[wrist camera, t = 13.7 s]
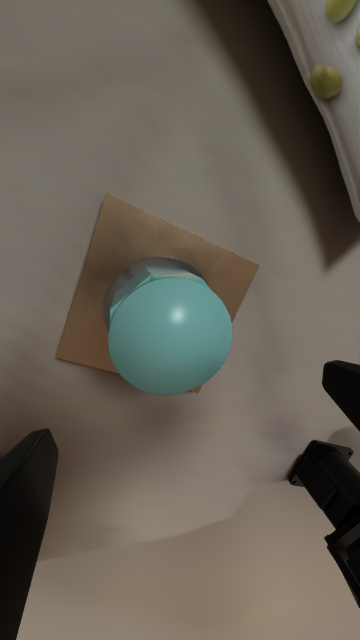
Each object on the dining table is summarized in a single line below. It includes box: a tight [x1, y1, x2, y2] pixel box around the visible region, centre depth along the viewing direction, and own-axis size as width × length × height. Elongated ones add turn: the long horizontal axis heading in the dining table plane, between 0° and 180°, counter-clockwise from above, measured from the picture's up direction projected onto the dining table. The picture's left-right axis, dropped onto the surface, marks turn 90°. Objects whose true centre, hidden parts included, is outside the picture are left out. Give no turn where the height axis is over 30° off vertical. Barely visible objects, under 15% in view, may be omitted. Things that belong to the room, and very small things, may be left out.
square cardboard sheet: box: [56, 193, 259, 393], centre depth 16 cm, size 12×12×5 cm
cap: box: [108, 266, 232, 395], centre depth 14 cm, size 6×6×5 cm
